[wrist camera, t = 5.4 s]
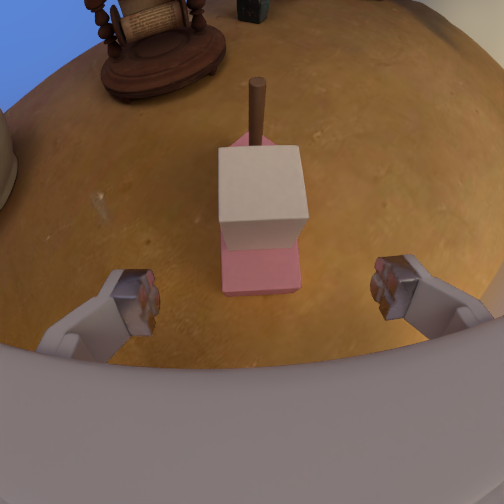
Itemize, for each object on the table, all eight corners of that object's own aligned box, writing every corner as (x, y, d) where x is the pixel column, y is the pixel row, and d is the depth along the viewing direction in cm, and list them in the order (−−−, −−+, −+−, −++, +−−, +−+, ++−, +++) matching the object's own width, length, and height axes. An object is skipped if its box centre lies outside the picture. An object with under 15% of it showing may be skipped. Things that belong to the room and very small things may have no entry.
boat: (293, 293, 20) (344, 260, 9) (226, 296, 19) (199, 268, 9) (279, 150, 22) (296, 46, 12) (223, 152, 22) (209, 47, 12)
